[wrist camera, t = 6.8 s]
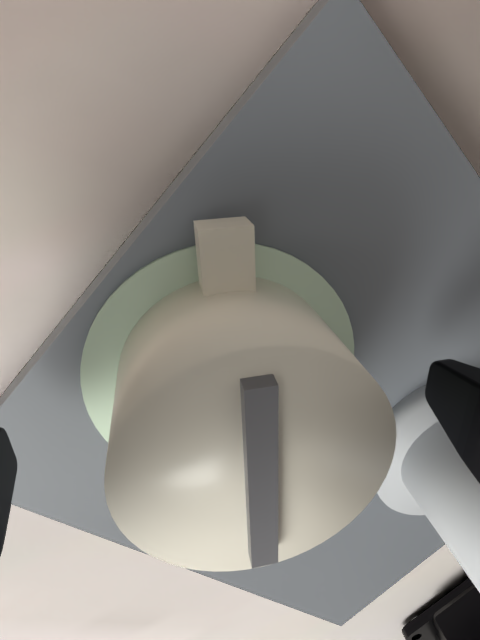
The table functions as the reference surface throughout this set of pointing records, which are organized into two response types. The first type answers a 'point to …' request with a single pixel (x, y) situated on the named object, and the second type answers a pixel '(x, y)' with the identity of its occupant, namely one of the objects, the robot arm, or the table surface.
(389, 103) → the post board
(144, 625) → the table surface
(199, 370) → the cream rounded dome
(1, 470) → the robot arm
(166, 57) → the table surface
